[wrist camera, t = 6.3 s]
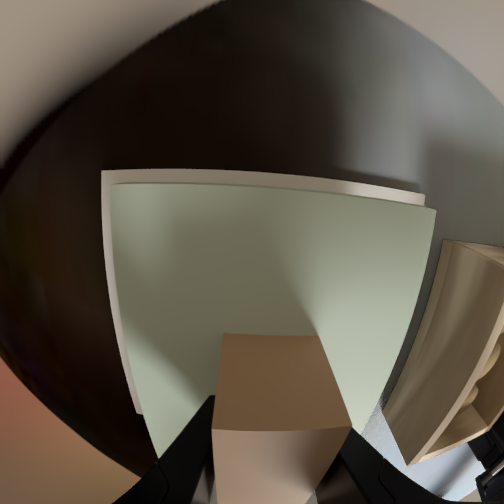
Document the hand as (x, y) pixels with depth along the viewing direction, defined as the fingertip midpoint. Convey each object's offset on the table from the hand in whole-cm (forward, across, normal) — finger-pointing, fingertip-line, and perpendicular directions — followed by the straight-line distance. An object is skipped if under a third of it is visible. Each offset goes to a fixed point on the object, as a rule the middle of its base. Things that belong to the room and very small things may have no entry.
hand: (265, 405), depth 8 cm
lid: (+3, 0, 0) cm, 3 cm away
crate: (+5, -13, +1) cm, 14 cm away
